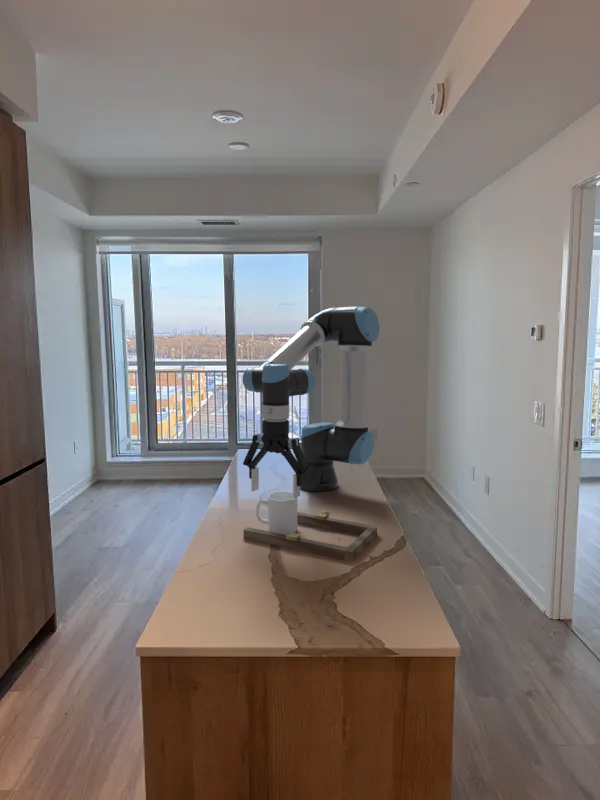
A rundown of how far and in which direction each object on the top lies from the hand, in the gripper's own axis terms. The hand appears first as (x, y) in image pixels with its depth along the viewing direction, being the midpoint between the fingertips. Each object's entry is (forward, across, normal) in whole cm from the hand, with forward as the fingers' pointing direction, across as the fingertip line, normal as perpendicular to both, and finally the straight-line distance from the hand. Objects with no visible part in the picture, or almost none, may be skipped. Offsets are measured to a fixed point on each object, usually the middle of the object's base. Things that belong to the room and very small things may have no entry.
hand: (275, 493), depth 149 cm
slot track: (+11, +11, +2) cm, 16 cm away
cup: (+11, 0, +1) cm, 11 cm away
